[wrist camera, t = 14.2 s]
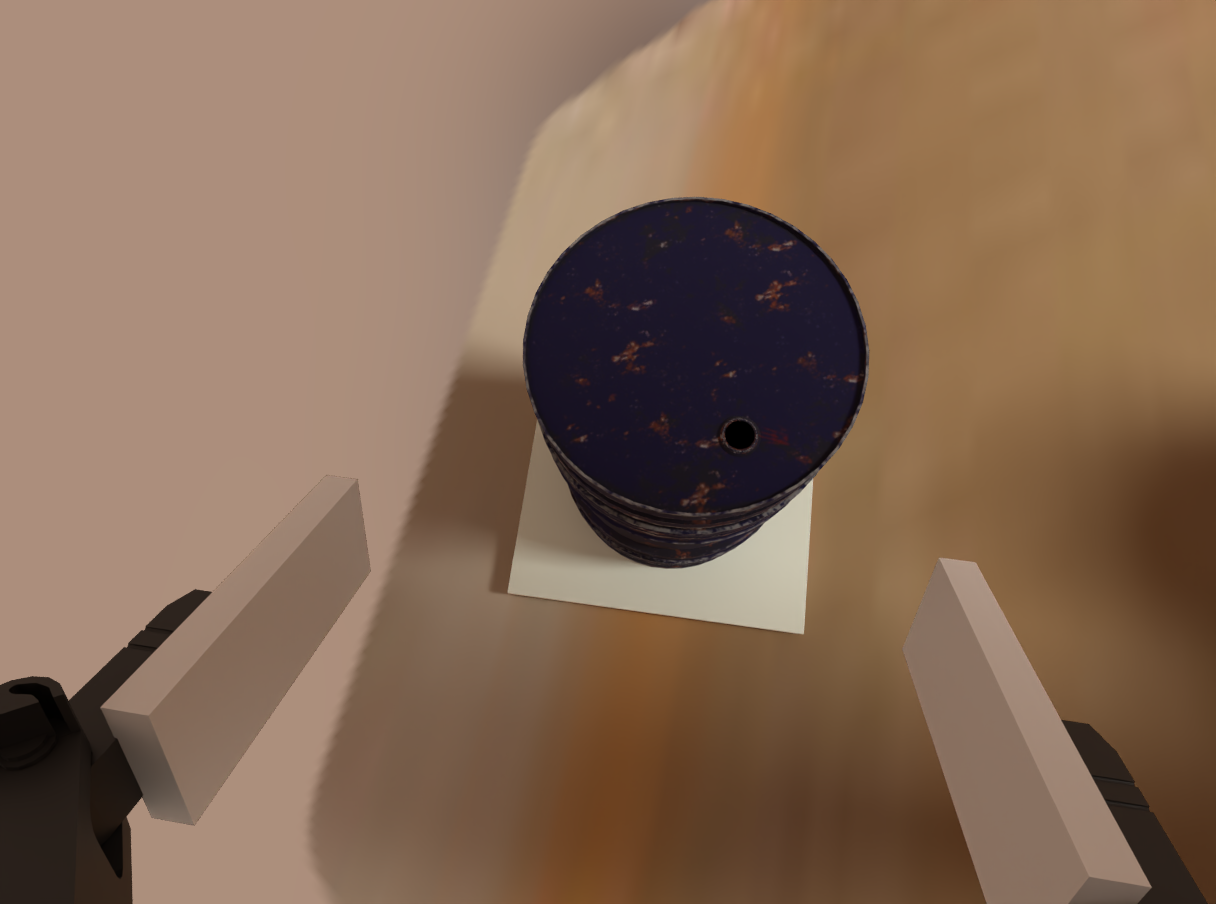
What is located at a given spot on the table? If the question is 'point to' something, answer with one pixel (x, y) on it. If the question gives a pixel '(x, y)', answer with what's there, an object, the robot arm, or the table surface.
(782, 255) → the rusty oil drum
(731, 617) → the placemat
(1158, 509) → the table surface
